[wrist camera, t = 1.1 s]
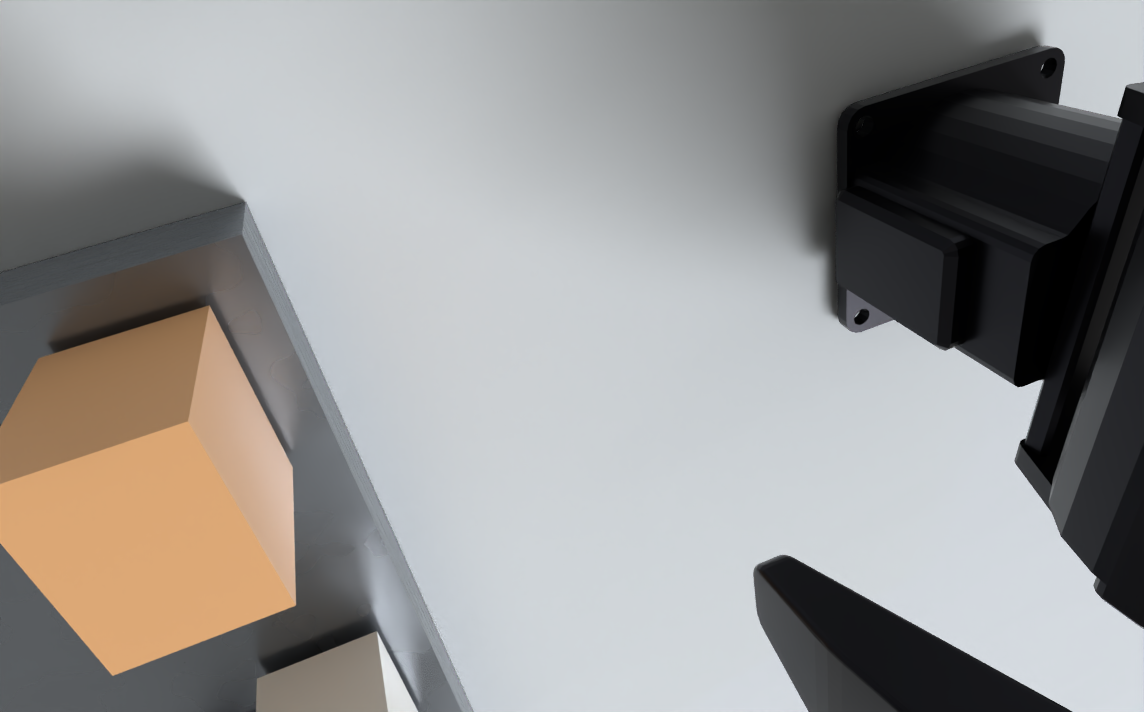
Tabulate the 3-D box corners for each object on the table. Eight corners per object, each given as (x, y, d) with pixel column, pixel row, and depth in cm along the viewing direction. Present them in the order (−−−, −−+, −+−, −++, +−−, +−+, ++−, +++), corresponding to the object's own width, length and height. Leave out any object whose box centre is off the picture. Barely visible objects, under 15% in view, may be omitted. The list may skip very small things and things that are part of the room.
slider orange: (209, 305, 14) (187, 421, 11) (292, 467, 16) (295, 605, 13) (38, 358, 14) (-40, 496, 10) (147, 518, 16) (112, 675, 12)
